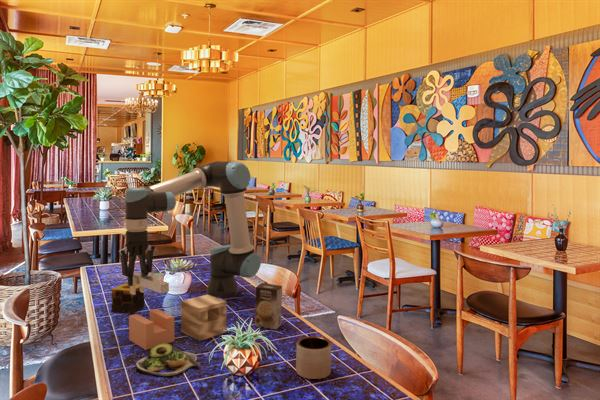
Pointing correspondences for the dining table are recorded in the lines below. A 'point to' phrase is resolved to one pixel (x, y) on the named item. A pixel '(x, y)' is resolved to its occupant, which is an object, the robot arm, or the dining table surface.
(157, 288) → the tan wooden bar
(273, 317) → the coffee box
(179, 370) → the salad plate
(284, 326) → the dining table surface
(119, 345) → the dining table surface
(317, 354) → the planter
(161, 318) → the cradle
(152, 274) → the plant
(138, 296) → the dark brown holed cube
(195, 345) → the dining table surface
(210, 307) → the brown notched block
